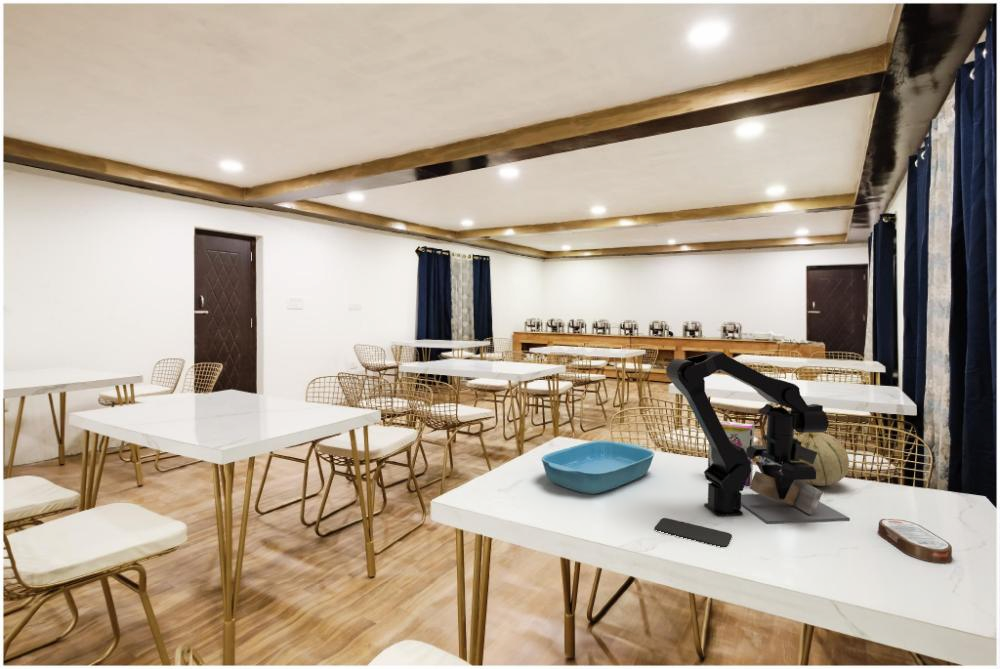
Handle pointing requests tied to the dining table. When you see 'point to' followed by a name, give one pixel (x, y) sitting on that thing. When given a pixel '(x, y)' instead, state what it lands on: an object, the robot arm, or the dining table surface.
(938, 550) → the tin
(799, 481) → the t-shaped pusher tool
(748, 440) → the candy bar box
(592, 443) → the casserole dish
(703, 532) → the phone
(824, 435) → the cantaloupe
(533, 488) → the dining table surface
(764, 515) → the tool mat
